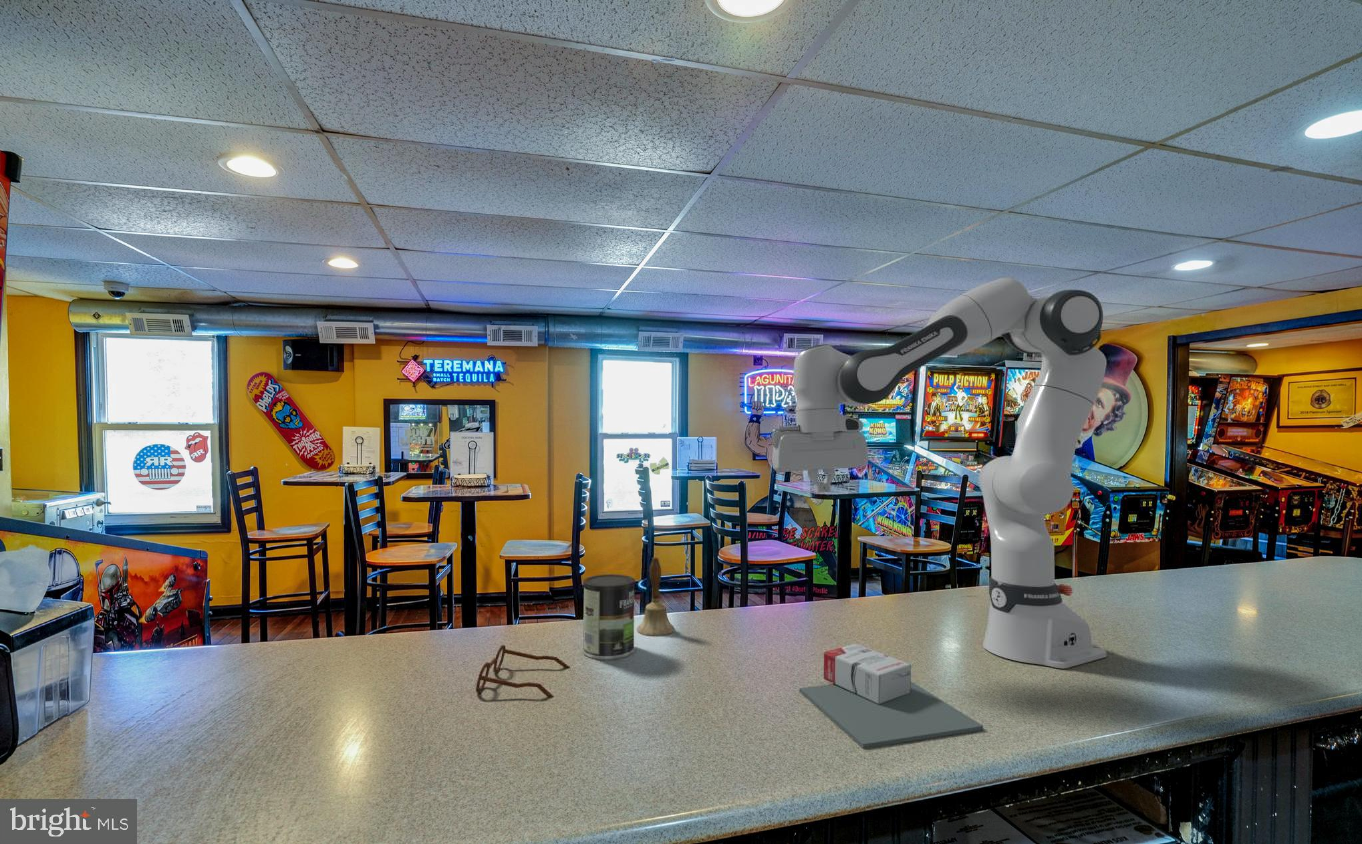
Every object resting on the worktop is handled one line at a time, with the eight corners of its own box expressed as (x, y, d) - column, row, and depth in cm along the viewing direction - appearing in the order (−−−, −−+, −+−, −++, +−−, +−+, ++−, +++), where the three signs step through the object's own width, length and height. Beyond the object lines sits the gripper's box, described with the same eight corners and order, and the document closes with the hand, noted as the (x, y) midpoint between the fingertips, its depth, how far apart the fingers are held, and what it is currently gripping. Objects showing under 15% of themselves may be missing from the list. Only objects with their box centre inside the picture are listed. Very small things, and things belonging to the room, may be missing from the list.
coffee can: (642, 645, 123) (642, 576, 123) (621, 663, 113) (622, 588, 113) (597, 639, 126) (597, 572, 126) (573, 656, 116) (573, 583, 117)
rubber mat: (902, 679, 106) (902, 675, 106) (983, 730, 88) (983, 725, 88) (799, 691, 101) (799, 688, 101) (863, 748, 82) (862, 744, 82)
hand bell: (666, 638, 127) (666, 562, 128) (630, 633, 130) (631, 559, 130) (679, 626, 135) (680, 555, 135) (646, 622, 138) (646, 552, 138)
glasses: (500, 668, 111) (500, 641, 111) (569, 669, 111) (570, 642, 111) (473, 699, 98) (474, 668, 98) (553, 700, 98) (553, 670, 98)
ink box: (822, 680, 104) (879, 705, 94) (822, 651, 104) (879, 673, 94) (855, 670, 109) (912, 693, 99) (855, 642, 109) (913, 663, 99)
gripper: (777, 425, 117) (782, 496, 117) (870, 421, 123) (874, 489, 122) (765, 427, 123) (769, 494, 123) (853, 423, 129) (857, 488, 128)
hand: (822, 492), depth 122 cm, fingers closed
